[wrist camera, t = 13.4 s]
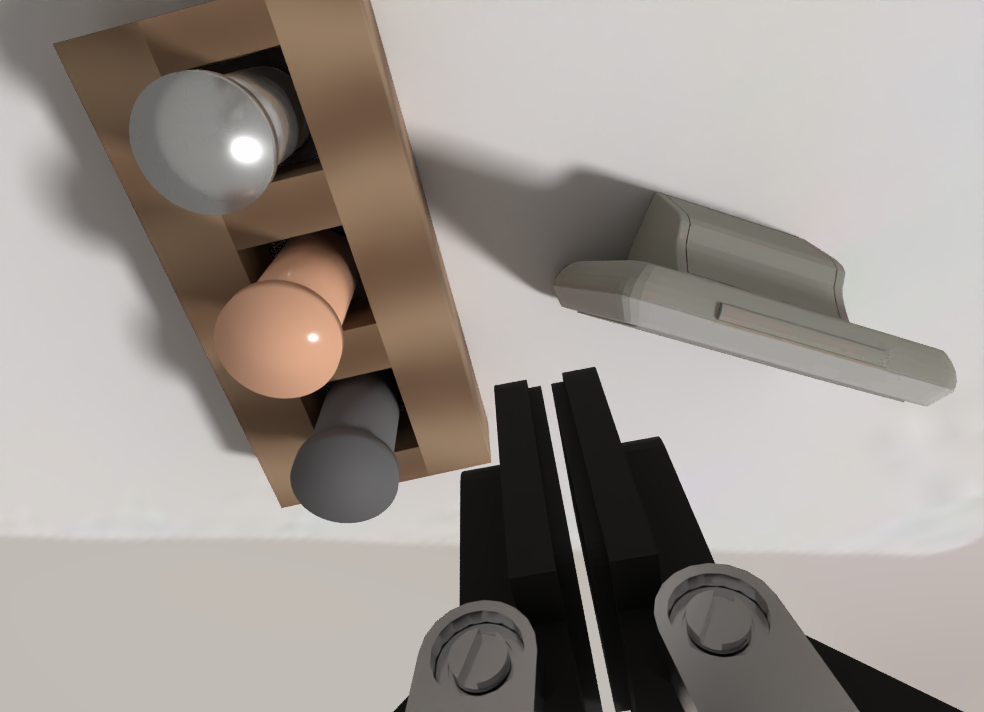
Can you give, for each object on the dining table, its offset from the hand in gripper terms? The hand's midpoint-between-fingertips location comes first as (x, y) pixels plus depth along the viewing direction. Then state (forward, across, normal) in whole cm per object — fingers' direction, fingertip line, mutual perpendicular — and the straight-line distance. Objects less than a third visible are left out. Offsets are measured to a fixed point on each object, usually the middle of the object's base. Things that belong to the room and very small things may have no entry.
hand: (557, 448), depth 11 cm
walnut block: (+24, +10, +4) cm, 26 cm away
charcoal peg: (+23, +10, +12) cm, 28 cm away
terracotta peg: (+23, +10, +4) cm, 25 cm away
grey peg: (+24, +10, -3) cm, 26 cm away
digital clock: (+24, -9, +10) cm, 28 cm away
